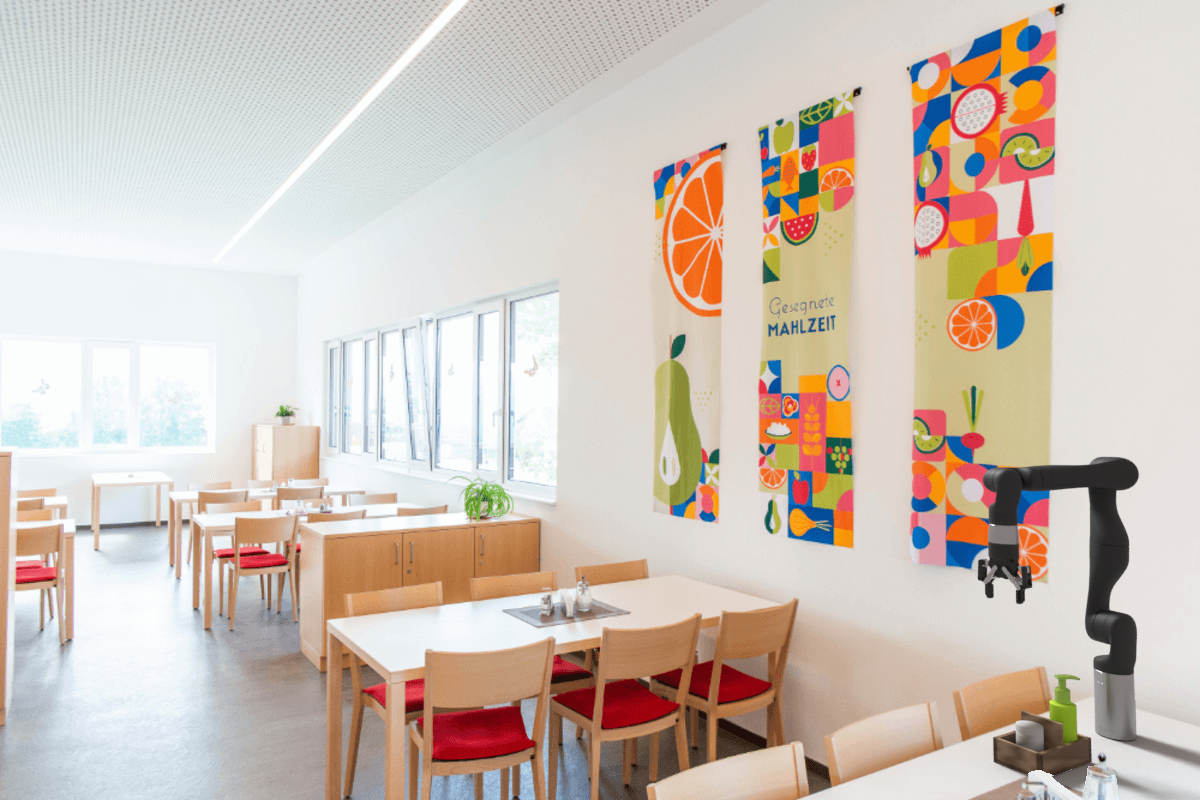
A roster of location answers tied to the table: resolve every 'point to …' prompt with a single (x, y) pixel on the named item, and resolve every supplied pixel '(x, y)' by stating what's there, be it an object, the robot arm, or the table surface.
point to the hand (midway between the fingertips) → (1004, 600)
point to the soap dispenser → (1064, 709)
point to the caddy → (1040, 747)
